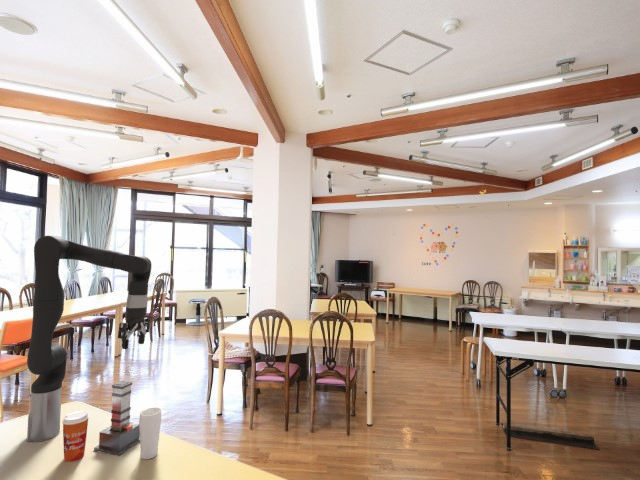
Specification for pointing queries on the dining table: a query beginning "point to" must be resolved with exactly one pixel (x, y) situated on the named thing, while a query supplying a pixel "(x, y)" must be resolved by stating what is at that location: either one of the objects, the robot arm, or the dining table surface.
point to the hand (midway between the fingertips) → (133, 346)
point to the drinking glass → (149, 432)
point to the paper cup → (75, 435)
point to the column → (120, 406)
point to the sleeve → (118, 440)
